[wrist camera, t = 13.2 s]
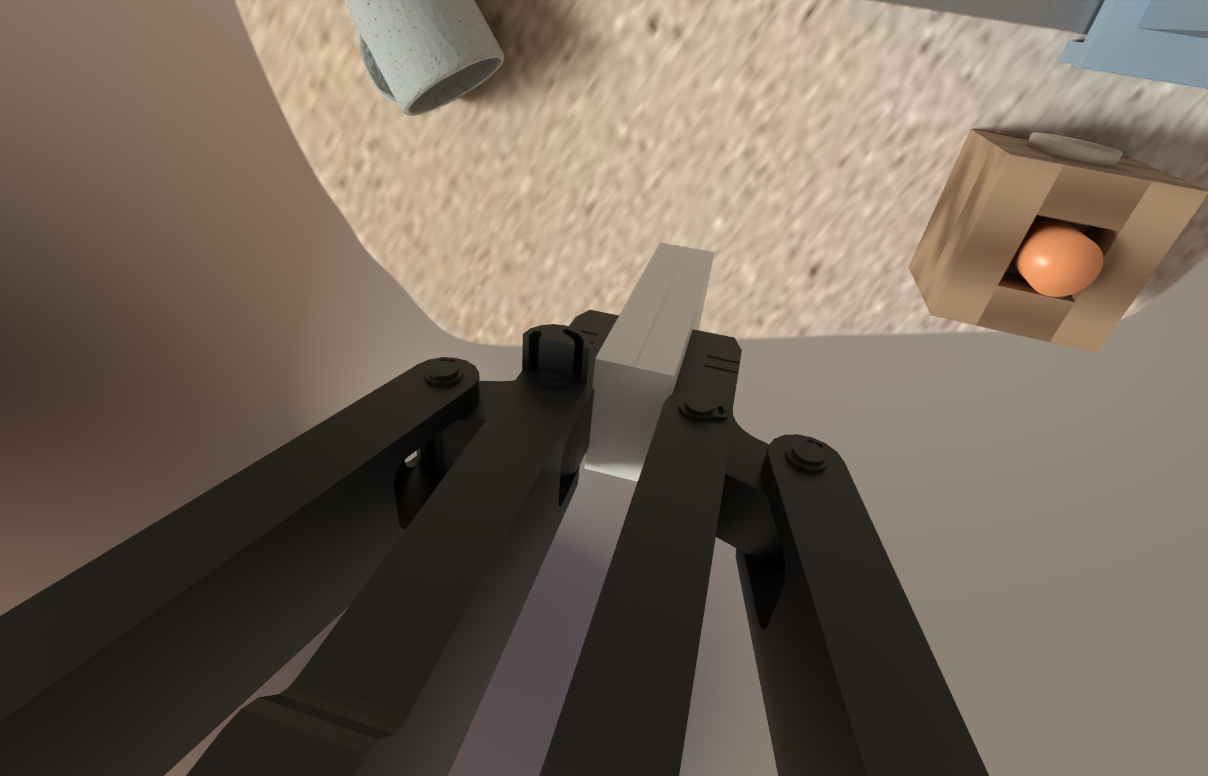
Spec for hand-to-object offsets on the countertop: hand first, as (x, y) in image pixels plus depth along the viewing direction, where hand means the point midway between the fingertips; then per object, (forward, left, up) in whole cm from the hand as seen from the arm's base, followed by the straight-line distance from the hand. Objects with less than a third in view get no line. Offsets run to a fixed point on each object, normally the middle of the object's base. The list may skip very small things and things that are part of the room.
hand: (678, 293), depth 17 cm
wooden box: (+2, +18, -28) cm, 33 cm away
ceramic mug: (-2, -22, -28) cm, 36 cm away
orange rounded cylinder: (+2, +18, -22) cm, 28 cm away
